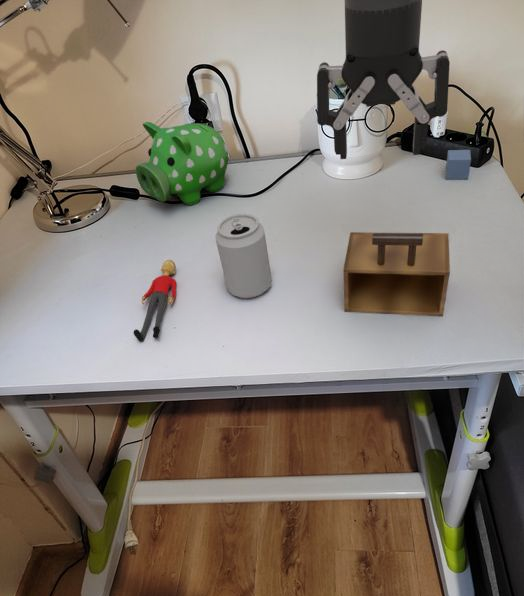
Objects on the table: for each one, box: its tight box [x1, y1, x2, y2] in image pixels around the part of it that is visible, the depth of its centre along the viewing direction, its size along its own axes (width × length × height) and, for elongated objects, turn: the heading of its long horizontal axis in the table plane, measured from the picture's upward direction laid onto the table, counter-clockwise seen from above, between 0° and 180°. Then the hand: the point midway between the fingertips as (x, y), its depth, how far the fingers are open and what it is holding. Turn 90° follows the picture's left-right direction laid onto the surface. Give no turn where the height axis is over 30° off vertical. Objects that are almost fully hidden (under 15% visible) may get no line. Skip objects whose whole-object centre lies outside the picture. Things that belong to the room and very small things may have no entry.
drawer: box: [342, 231, 451, 317], centre depth 73 cm, size 14×9×13 cm, turn 77°
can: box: [214, 213, 273, 299], centre depth 79 cm, size 8×8×12 cm
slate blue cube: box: [445, 149, 472, 181], centre depth 97 cm, size 4×4×4 cm
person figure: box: [133, 259, 177, 343], centre depth 82 cm, size 5×4×18 cm
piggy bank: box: [135, 121, 229, 206], centre depth 103 cm, size 14×18×15 cm
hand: (379, 154), depth 61 cm, fingers open, 8 cm apart
